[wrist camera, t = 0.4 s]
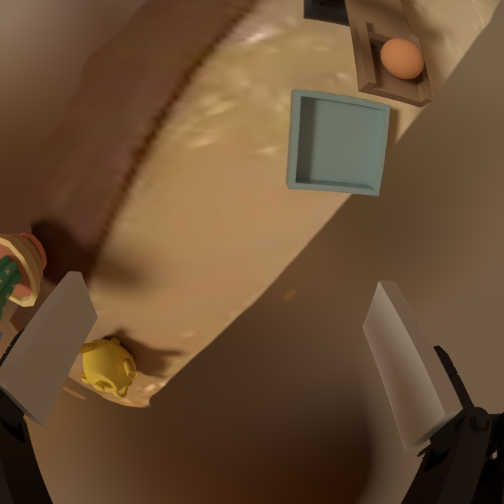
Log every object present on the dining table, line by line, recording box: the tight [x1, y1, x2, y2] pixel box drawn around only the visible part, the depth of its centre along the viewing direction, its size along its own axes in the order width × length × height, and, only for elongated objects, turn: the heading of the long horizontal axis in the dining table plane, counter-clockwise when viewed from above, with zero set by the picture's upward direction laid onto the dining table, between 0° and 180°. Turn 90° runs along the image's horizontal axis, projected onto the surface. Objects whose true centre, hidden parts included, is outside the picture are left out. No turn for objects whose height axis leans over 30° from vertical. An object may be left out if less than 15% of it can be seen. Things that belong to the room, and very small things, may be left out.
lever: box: [345, 0, 432, 107], centre depth 16 cm, size 24×6×5 cm, turn 179°
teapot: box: [78, 338, 138, 398], centre depth 49 cm, size 14×14×11 cm
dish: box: [286, 89, 390, 196], centre depth 32 cm, size 13×13×3 cm
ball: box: [381, 38, 424, 79], centre depth 14 cm, size 4×4×4 cm
